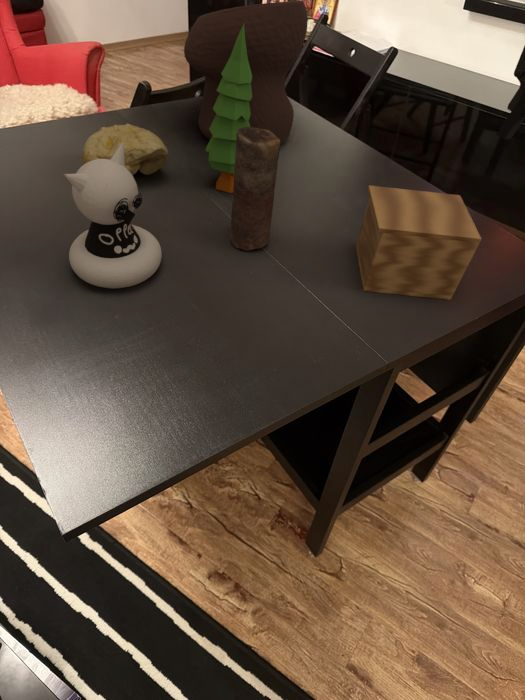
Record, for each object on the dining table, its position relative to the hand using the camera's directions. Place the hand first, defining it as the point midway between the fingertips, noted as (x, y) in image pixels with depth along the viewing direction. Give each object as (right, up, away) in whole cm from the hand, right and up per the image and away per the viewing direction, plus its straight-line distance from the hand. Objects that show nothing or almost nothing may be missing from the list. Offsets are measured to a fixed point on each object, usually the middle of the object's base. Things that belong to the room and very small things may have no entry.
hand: (503, 136), depth 73 cm
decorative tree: (-45, +3, +30) cm, 54 cm away
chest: (-11, -18, +15) cm, 26 cm away
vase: (-43, +24, +51) cm, 71 cm away
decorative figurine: (-61, -19, +8) cm, 65 cm away
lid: (-11, -10, +7) cm, 16 cm away
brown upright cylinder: (-39, -12, +17) cm, 45 cm away
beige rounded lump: (-66, +4, +29) cm, 72 cm away
